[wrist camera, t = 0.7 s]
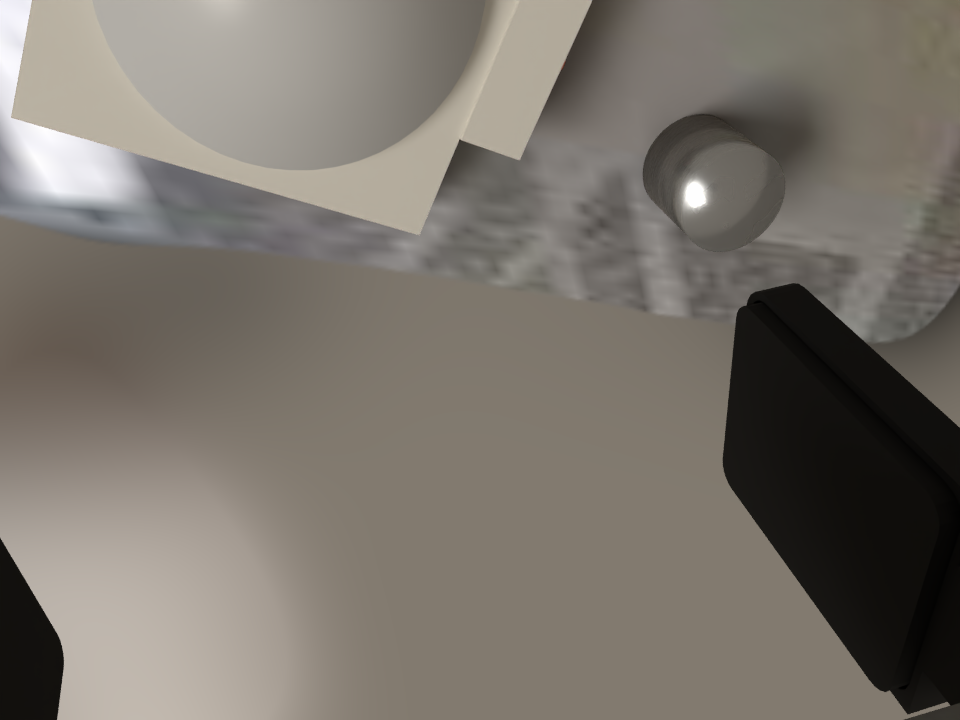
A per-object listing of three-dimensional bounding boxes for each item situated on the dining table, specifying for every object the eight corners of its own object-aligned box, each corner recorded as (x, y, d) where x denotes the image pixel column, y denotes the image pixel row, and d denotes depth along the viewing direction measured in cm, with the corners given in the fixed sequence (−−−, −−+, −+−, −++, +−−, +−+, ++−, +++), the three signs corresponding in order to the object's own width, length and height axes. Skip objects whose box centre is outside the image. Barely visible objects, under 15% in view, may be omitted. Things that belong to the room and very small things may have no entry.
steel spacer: (634, 136, 37) (675, 173, 34) (732, 98, 38) (781, 132, 34) (650, 224, 40) (690, 267, 37) (741, 190, 40) (788, 228, 37)
